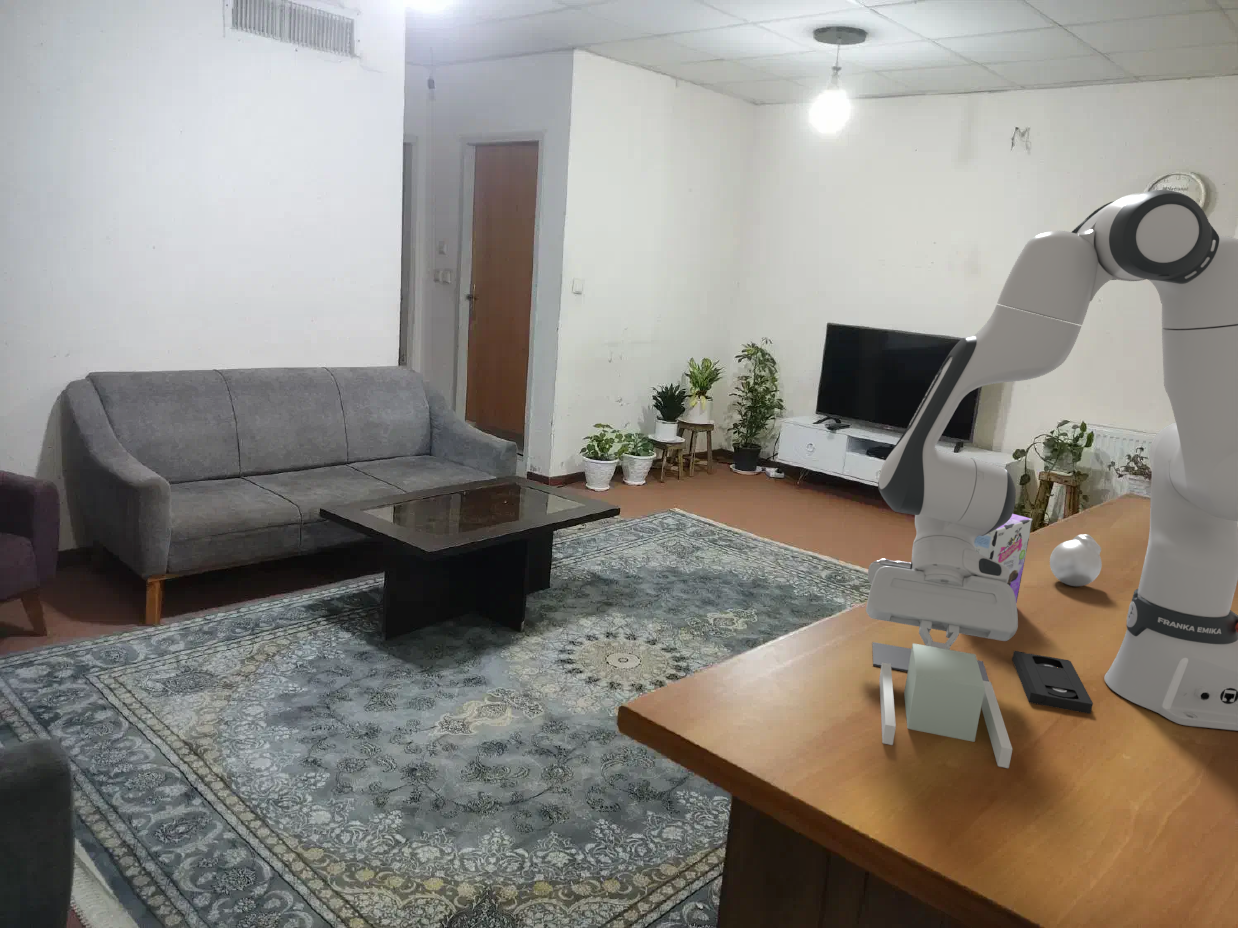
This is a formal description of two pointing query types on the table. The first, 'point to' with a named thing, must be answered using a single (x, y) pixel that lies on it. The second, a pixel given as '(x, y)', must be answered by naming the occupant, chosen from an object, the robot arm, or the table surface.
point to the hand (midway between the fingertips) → (937, 656)
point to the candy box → (1008, 547)
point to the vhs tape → (1051, 682)
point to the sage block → (943, 692)
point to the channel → (899, 660)
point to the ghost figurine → (1076, 561)
